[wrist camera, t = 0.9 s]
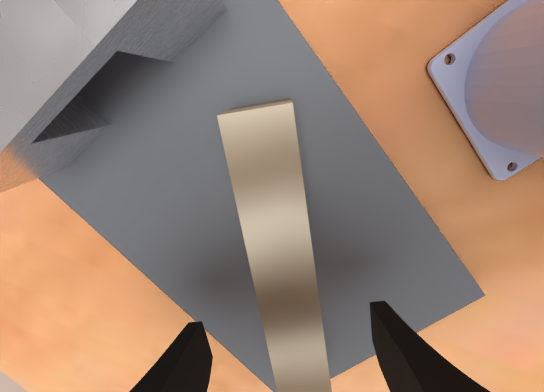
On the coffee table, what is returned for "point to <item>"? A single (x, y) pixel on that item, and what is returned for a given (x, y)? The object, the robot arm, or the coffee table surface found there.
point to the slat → (278, 239)
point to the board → (221, 201)
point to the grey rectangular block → (75, 70)
